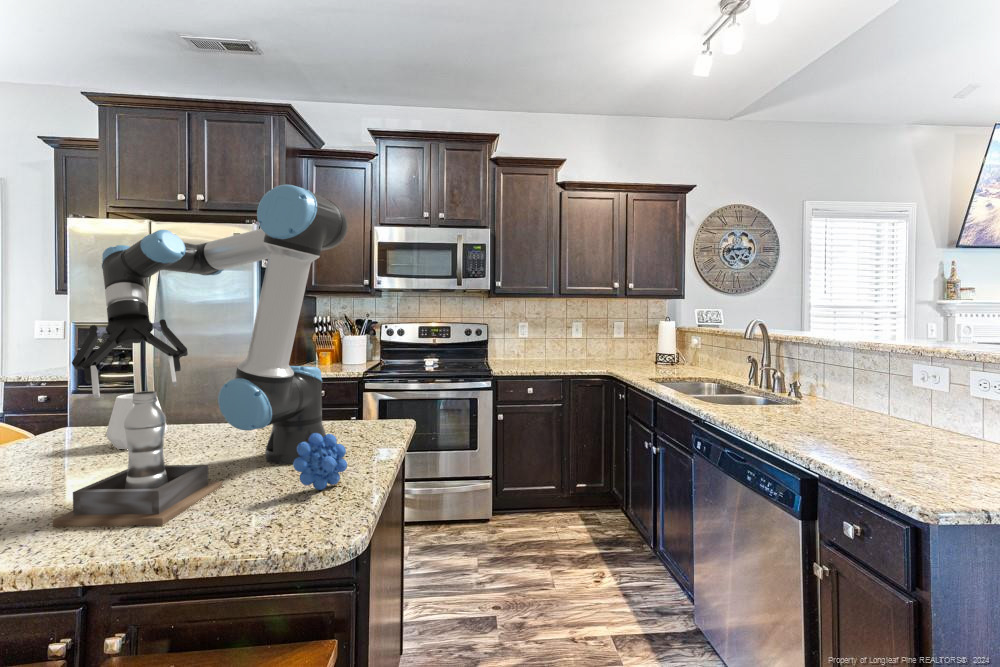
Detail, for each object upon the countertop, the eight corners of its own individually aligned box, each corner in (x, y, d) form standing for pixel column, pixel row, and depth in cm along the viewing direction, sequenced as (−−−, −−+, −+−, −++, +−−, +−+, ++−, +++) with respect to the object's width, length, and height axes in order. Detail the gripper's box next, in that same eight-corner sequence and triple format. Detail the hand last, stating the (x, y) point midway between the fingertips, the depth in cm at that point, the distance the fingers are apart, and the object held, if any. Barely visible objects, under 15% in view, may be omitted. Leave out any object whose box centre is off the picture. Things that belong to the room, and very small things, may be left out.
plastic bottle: (121, 507, 83) (118, 396, 82) (130, 494, 89) (127, 391, 88) (165, 501, 86) (162, 393, 85) (170, 489, 92) (168, 388, 91)
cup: (128, 439, 134) (127, 391, 133) (177, 438, 135) (177, 391, 135) (92, 453, 121) (91, 399, 120) (148, 451, 122) (147, 399, 122)
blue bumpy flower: (305, 503, 88) (304, 441, 87) (287, 495, 92) (287, 435, 92) (358, 486, 97) (357, 429, 96) (340, 479, 101) (339, 424, 101)
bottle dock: (222, 486, 97) (221, 462, 96) (162, 525, 79) (162, 494, 78) (133, 487, 96) (132, 462, 96) (53, 526, 78) (52, 496, 78)
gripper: (191, 309, 118) (204, 385, 111) (59, 320, 104) (64, 407, 97) (190, 294, 112) (203, 373, 106) (50, 303, 98) (55, 394, 91)
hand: (137, 390), depth 101 cm, fingers open, 13 cm apart
